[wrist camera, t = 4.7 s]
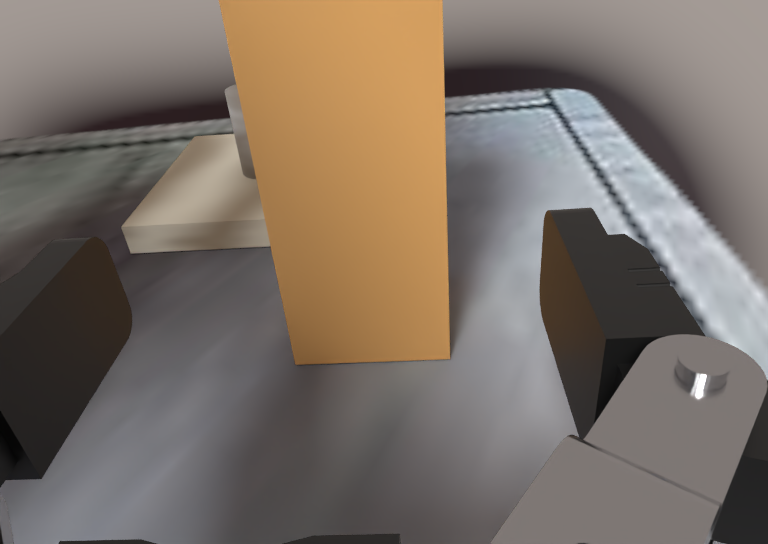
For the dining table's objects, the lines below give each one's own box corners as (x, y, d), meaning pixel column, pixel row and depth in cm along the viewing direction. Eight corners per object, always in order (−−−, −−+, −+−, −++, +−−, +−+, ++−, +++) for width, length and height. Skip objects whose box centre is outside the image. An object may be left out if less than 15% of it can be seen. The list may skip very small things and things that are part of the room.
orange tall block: (295, 364, 22) (202, -81, 14) (315, 278, 26) (252, -91, 19) (450, 359, 21) (439, -102, 14) (442, 272, 26) (431, -107, 18)
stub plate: (130, 253, 30) (88, 137, 26) (200, 158, 40) (176, 65, 36) (372, 241, 29) (360, 119, 26) (381, 147, 39) (373, 51, 36)
